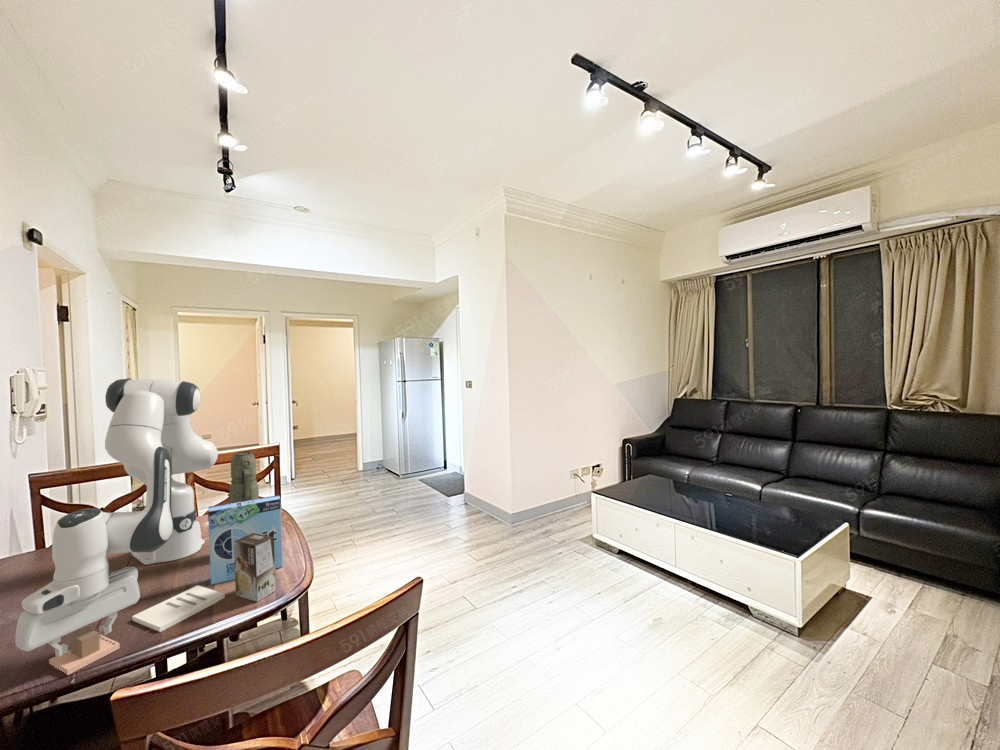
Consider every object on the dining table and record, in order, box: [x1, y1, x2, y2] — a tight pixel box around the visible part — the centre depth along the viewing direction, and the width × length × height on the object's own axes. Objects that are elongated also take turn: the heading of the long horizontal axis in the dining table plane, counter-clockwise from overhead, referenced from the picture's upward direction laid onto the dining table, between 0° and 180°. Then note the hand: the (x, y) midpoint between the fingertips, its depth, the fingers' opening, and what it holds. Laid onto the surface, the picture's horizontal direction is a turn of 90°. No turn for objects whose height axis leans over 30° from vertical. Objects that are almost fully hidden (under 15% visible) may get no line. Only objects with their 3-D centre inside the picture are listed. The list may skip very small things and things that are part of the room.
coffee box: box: [234, 533, 277, 602], centre depth 119 cm, size 9×6×16 cm
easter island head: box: [228, 451, 260, 503], centre depth 145 cm, size 9×12×35 cm
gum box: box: [207, 494, 284, 586], centre depth 131 cm, size 19×5×23 cm, turn 123°
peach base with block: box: [48, 627, 121, 676], centre depth 94 cm, size 8×9×5 cm
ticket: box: [131, 584, 226, 633], centre depth 112 cm, size 12×16×1 cm
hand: (84, 643), depth 94 cm, fingers open, 6 cm apart
